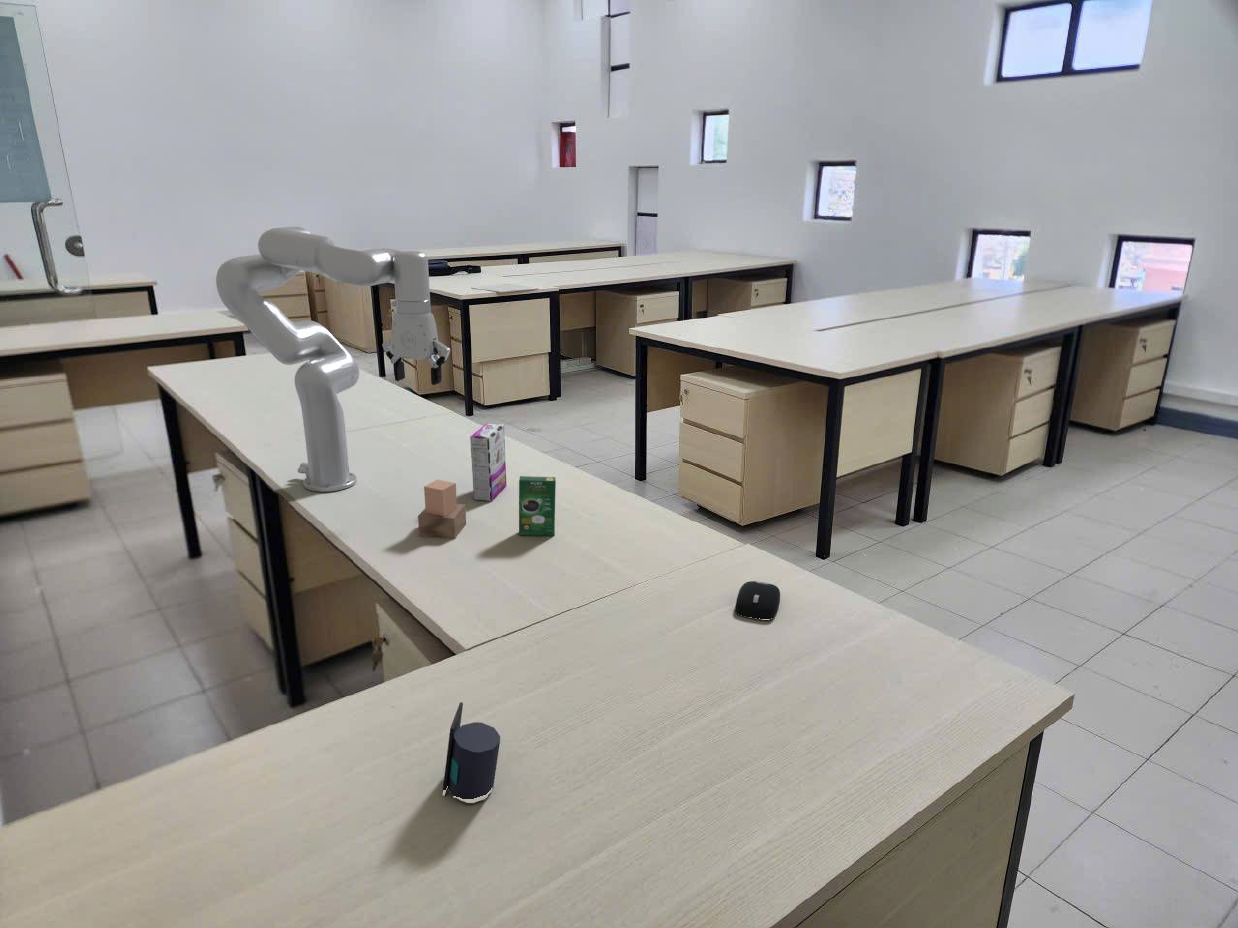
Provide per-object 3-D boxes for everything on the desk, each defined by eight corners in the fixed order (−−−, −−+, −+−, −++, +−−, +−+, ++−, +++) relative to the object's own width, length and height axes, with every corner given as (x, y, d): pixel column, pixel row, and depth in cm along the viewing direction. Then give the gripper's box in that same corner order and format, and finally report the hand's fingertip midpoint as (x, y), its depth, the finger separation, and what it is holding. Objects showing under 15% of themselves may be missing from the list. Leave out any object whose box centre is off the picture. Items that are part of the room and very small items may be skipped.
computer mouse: (784, 594, 156) (786, 575, 154) (773, 624, 145) (775, 604, 144) (745, 587, 158) (746, 569, 157) (731, 616, 147) (733, 596, 146)
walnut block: (419, 537, 177) (417, 515, 175) (431, 522, 184) (430, 502, 183) (455, 539, 176) (454, 518, 174) (466, 525, 184) (465, 504, 182)
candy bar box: (488, 484, 207) (486, 422, 202) (507, 486, 206) (505, 424, 201) (472, 500, 197) (469, 435, 192) (491, 502, 196) (489, 437, 191)
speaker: (426, 793, 103) (431, 724, 100) (452, 766, 108) (458, 700, 105) (478, 816, 100) (484, 746, 97) (502, 788, 106) (509, 720, 102)
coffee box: (556, 531, 181) (556, 475, 177) (555, 536, 178) (555, 480, 174) (519, 531, 181) (518, 475, 176) (518, 536, 178) (517, 479, 173)
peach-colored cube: (425, 512, 177) (423, 486, 175) (439, 504, 181) (437, 479, 179) (443, 516, 175) (442, 490, 173) (457, 508, 179) (455, 483, 177)
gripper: (370, 307, 184) (376, 381, 190) (438, 312, 179) (442, 389, 184) (390, 303, 191) (395, 375, 196) (455, 308, 186) (459, 381, 191)
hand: (418, 381), depth 190 cm, fingers open, 9 cm apart
